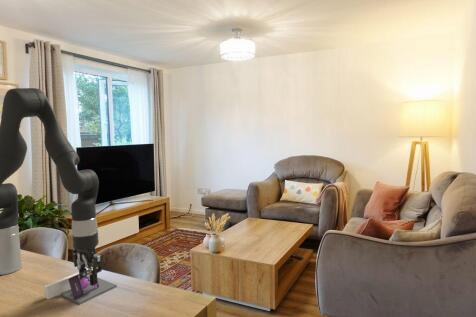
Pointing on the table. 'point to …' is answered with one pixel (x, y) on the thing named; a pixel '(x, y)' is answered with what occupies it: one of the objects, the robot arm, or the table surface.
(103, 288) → the rubber mat
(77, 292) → the purple framed toy figure
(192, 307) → the table surface
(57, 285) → the low wall
